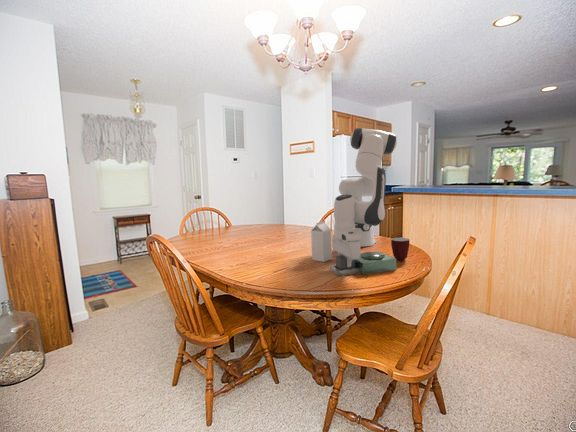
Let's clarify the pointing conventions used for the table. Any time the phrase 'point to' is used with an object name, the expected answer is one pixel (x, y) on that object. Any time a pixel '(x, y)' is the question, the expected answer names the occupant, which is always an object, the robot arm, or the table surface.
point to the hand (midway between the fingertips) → (345, 264)
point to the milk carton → (321, 242)
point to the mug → (400, 248)
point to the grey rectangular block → (343, 263)
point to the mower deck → (369, 264)
